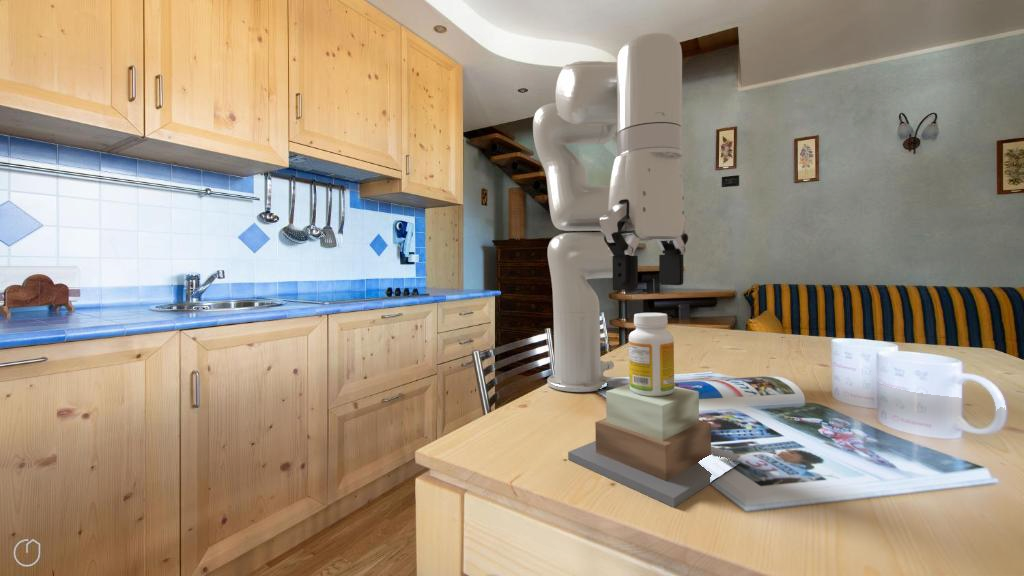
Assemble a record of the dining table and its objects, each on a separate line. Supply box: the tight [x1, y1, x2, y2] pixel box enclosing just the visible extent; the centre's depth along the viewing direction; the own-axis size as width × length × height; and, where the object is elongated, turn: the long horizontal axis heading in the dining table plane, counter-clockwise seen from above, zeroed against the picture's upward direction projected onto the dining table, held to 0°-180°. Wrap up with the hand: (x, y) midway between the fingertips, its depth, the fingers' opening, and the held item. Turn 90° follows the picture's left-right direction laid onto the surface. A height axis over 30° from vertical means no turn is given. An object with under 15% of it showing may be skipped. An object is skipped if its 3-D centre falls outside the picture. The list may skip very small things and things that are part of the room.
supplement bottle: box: [628, 312, 675, 396], centre depth 55 cm, size 5×5×10 cm
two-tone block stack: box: [594, 383, 712, 481], centre depth 55 cm, size 10×10×8 cm
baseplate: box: [567, 440, 741, 508], centre depth 56 cm, size 15×15×1 cm
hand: (649, 287), depth 55 cm, fingers open, 9 cm apart
